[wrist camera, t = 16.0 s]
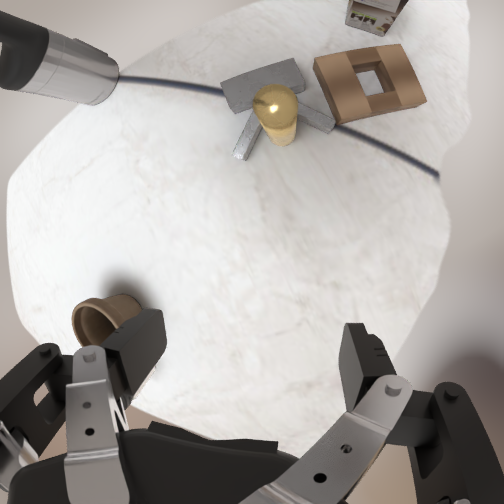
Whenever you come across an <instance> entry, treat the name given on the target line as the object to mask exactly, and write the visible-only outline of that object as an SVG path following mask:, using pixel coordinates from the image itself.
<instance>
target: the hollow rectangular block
mask: <svg viewBox="0 0 504 504" xmlns="http://www.w3.org/2000/svg"><path fill="white" fill-rule="evenodd" d="M313 70H314V72H315V75H316V77H317V79H318V81H319V83H320V86H321V88H322V90H323V93H324V95H325V97H326V100H327V102H328V104H329V107H330V109H331V112H332V114H333V117H334V119H335V120H336V124H337V125H340V124H344V123H347V122H351V121H355V120H359V119H363V118H367V117H372V116H376V115H380V114H385V113H390V112H394V111H399V110H404V109H410V108H415V107H417V106H419V105H421V104H423V103H425V102H427V100H426V97H425V95H424V93H423V90H422V88H421V85H420V83H419V81H418V79H417V76H416V74H415V72H414V70H413V68H412V66H411V64H410V62H409V59H408V57H407V55H406V54H405V52H404V50H403V48H402V46H401V44H394V45H384V46H376V47H369V48H362V49H356V50H350V51H345V52H340V53H335V54H330V55H325V56H321V57H317V58H315V59H314V65H313ZM370 70H375V73H376V75H377V77H378V79H379V81H380V83H381V86H382V88H383V90H384V93H380V94H375V95H370V96H365V94H364V91H363V89H362V87H361V85H360V82H359V80H358V78H357V76H356V74H355V73H360V72H365V71H370Z"/></svg>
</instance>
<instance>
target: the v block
mask: <svg viewBox="0 0 504 504" xmlns="http://www.w3.org/2000/svg"><path fill="white" fill-rule="evenodd" d="M220 84H221V87H222V89H223V92H224V94H225V97H226V99H227V102H228V105H229V107H230V109H231V110H232V111H233V112H234V113H235V114H237V113H239V112H242V111H245V110H247V109H250V108H253V99H254V96H255V94H256V93H257V92H258V91H259V90H260V89H261V88H262V87H264V86H267V85H270V84H280V85H284V86H286V87H288V88H289V89H291V90H292V91H293V92H294V94H296V93H299V92H303V91H304V88H305V82H304V80H303V77H302V75H301V73H300V71H299V69H298V67H297V64H296V62H295V60H294V58H291V59H288V60H284V61H281V62H277V63H274V64H271V65H268V66H265V67H262V68H259V69H256V70H253V71H250V72H247V73H244V74H241V75H239V76H236V77H233V78H231V79H228V80H226V81H223V82H221V83H220ZM297 119H298V120H300V121H302V122H304V123H307V124H309V125H311V126H313V127H315V128H317V129H319V130H321V131H323V132H325V133H327V134H329V132H330V131H331V130H332V128H333V126H334V124H335V122H336V120H334V119H332V118H330V117H328V116H326V115H324V114H322V113H320V112H318V111H316V110H314V109H311V108H309V107H307V106H305V105H303V104H301V103H299V102H298V113H297ZM262 127H263V126H262V125H261V123H260V121H259V120H258V118H257V116H256V115H255V113H254V110H253V112H252V114H251V116H250V118H249V120H248V122H247V124H246V126H245V128H244V130H243V132H242V134H241V136H240V138H239V140H238V142H237V144H236V147H235V149H234V151H233V153H232V155H233V156H235V157H237V158H240V159H242V160H245V161H246V160H247V158H248V156H249V154H250V152H251V149H252V147H253V145H254V143H255V141H256V139H257V137H258V135H259V133H260V131H261V129H262Z"/></svg>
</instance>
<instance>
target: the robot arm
mask: <svg viewBox="0 0 504 504" xmlns="http://www.w3.org/2000/svg"><path fill="white" fill-rule="evenodd" d="M0 42H2V50H1V55H0V87H1V88H3V89H7V90H14V91H20V92H26V93H33V94H39V95H44V96H49V97H54V98H59V99H64V100H68V101H73V102H77V103H82V104H86V105H96V104H99V103H100V102H102V101H103V100H105V99H106V98H107V97H108V96H109V95H110V94H111V92H112V91H113V89H114V87H115V85H116V83H117V80H118V76H119V68H118V64H117V63H116V61H115V60H113V59H112V58H110V57H108V54H107V53H105V52H103V51H101V50H99V49H97V48H95V47H93V46H91V45H89V44H87V43H85V42H83V41H81V40H78V39H76V38H75V39H70V38H68V37H66V36H64V35H61V34H59V33H57V32H54V31H52V30H49V29H47V28H44V27H42V26H39V25H36V24H34V23H31V22H29V21H26V20H23V19H20V18H18V17H15V16H12V15H10V14H7V13H5V12H2V11H0ZM166 345H167V337H166V331H165V325H164V318H163V313H162V311H161V310H159V309H152V308H144V309H143V310H142V311H141V312H140V313H139V314H138V315H137V316H136V317H135V316H134V317H132V318H130V319H128V320H126V321H125V322H124V323H123V324H121V325H120V326H119V328H117V329H116V330H115V331H114V332H113V333H112V334H111V335H110V336H109V337H108V338H107V339H106V340H105V341H104V342H103V343H102V344H101V345H99V346H95V345H91V346H85V347H83V348H80V349H79V350H77V351H76V352H75V354H74V355H62V354H61V351H60V349H59V346H58V345H56V344H54V343H45V344H42V345H39V346H38V347H36V348H35V349H34V350H33V351H32V352H30V353H29V354H28V355H27V356H26V357H25V358H24V359H22V360H21V361H20V362H19V363H18V364H17V365H16V366H15V367H14V368H13V369H11V370H10V371H9V372H8V373H7V374H6V375H5V376H4V377H3V378H2V379H1V380H0V488H1V489H2V490H3V491H6V492H9V494H8V502H7V504H348V503H347V502H346V501H345V500H346V499H347V498H348V497H349V496H350V494H351V493H352V492H353V491H354V489H355V488H356V487H357V485H358V484H359V483H360V481H361V480H362V478H363V477H364V476H365V474H366V473H367V472H368V470H369V469H370V467H371V466H372V465H373V463H374V461H375V460H376V459H377V457H378V456H379V454H380V453H381V451H382V450H383V448H384V447H385V445H386V444H393V445H401V446H407V448H408V452H409V457H410V462H411V467H412V473H413V478H414V484H415V490H416V497H417V504H504V474H503V472H502V469H501V466H500V464H499V461H498V459H497V456H496V453H495V451H494V449H493V446H492V444H491V442H490V439H489V437H488V435H487V433H486V430H485V428H484V426H483V424H482V422H481V420H480V418H479V416H478V413H477V411H476V409H475V407H474V406H473V404H472V402H471V400H470V398H469V396H468V394H467V392H466V391H465V389H464V388H463V387H462V386H460V385H458V384H456V383H453V382H443V383H440V384H438V385H437V386H436V387H435V389H434V391H433V393H430V392H423V391H416V390H413V389H412V385H411V384H410V382H409V381H408V380H406V379H405V378H403V377H401V376H397V374H396V371H395V369H394V367H393V365H392V362H391V360H390V358H389V356H388V353H387V351H386V350H385V347H384V345H383V342H382V341H381V340H380V339H379V338H378V337H377V336H376V335H374V334H368V333H367V331H366V328H365V326H364V324H363V323H346V324H345V326H344V331H343V337H342V342H341V347H340V352H339V370H340V375H341V381H342V386H343V392H344V398H345V404H346V410H347V411H346V412H345V413H344V414H343V415H342V416H341V417H340V418H339V419H338V420H337V421H336V423H335V424H334V425H333V426H332V427H331V428H330V429H329V430H328V431H327V432H326V433H325V434H324V435H323V436H322V437H321V438H320V439H319V440H318V442H317V443H316V444H315V445H314V446H312V447H311V448H310V449H309V450H308V451H307V452H306V453H305V454H304V455H303V456H302V457H301V458H300V459H299V458H297V457H295V456H293V455H291V454H288V453H285V452H282V451H279V450H277V449H278V441H264V440H253V439H233V440H208V439H205V438H202V437H200V436H198V435H195V434H193V433H191V432H188V431H186V430H184V429H182V428H178V427H174V426H170V425H166V424H162V423H158V422H154V421H152V422H151V424H150V426H149V427H148V429H131V430H129V428H128V423H127V420H126V416H125V412H124V407H123V403H122V400H121V395H122V394H127V395H130V396H134V395H135V393H136V392H137V391H138V389H139V388H140V386H141V385H142V383H143V382H144V380H145V379H146V377H147V376H148V375H149V373H150V372H151V370H152V369H153V367H154V366H155V364H156V363H157V362H158V360H159V359H160V357H161V356H162V354H163V353H164V351H165V349H166ZM43 383H45V385H46V387H47V389H48V391H49V393H48V394H47V395H46V396H45V397H44V398H43V400H42V401H41V402H40V403H39V404H38V405H37V406H36V405H35V403H34V399H33V398H34V394H35V392H36V391H37V390H38V389H39V388H40V386H41V385H42V384H43ZM65 421H66V436H67V451H68V452H67V453H65V454H61V455H58V456H55V457H52V458H49V459H45V460H42V461H39V462H38V458H39V457H40V456H41V454H42V453H43V451H44V450H45V448H46V447H47V446H48V444H49V443H50V441H51V440H52V439H53V437H54V436H55V434H56V433H57V432H58V430H59V429H60V428H61V426H62V425H63V423H64V422H65Z"/></svg>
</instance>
